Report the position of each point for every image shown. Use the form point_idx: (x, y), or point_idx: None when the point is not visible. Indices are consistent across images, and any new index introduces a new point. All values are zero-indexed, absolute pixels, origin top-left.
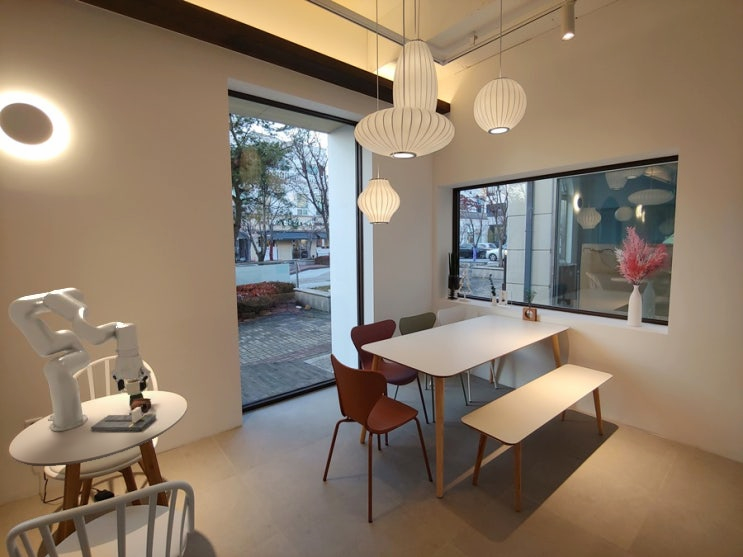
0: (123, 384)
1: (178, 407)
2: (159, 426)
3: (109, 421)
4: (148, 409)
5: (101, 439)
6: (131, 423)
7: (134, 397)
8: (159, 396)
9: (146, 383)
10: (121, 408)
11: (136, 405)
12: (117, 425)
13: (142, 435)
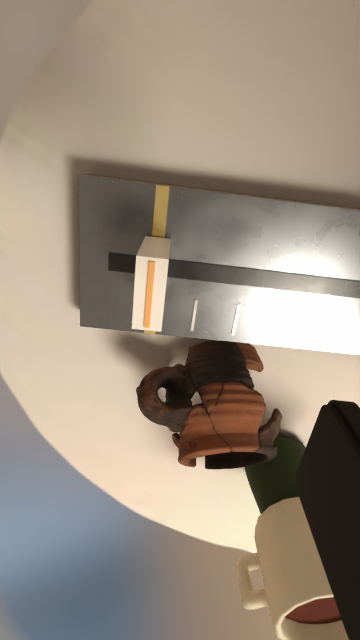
0: (325, 531)
1: (40, 415)
2: (6, 224)
3: (337, 278)
4: (147, 374)
5: (305, 95)
6: (175, 234)
7: (288, 485)
8: (206, 513)
9: (246, 589)
10: None
11: (223, 398)
12: (259, 219)
13: (43, 114)
